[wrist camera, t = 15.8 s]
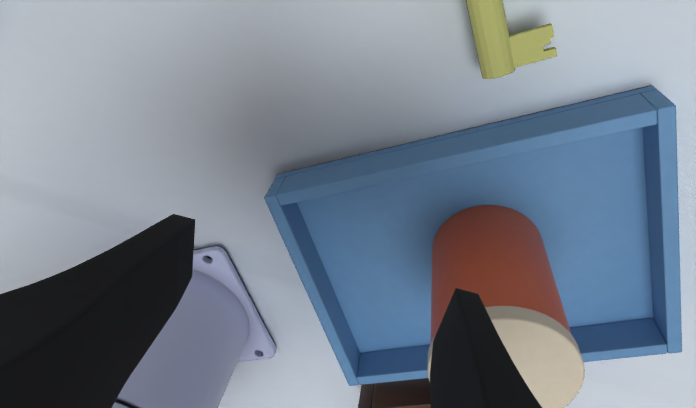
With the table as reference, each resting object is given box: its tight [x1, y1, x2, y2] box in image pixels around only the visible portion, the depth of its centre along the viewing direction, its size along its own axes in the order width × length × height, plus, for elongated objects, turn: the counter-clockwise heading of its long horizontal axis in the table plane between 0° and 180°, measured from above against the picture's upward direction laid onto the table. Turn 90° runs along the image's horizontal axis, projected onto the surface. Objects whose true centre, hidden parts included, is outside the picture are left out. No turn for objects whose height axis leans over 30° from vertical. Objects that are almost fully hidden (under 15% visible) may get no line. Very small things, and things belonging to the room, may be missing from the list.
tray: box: [264, 86, 682, 386], centre depth 24 cm, size 16×12×2 cm
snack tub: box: [427, 205, 585, 408], centre depth 21 cm, size 5×5×8 cm
